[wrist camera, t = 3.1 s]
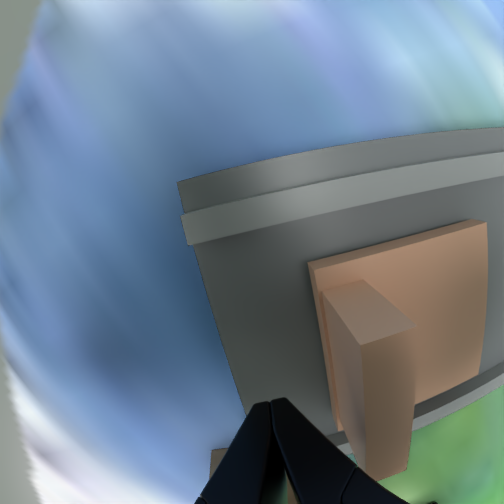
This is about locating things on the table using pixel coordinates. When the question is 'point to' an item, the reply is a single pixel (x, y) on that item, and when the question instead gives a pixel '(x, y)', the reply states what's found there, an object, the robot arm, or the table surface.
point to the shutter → (399, 333)
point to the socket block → (336, 252)
